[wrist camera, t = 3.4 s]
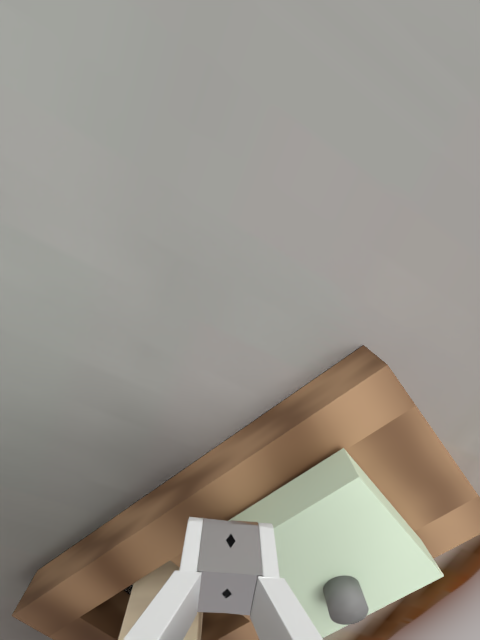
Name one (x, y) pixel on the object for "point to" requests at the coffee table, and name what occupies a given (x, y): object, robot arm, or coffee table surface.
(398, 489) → the puzzle board
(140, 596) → the maple block
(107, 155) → the coffee table surface
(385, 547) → the lid
